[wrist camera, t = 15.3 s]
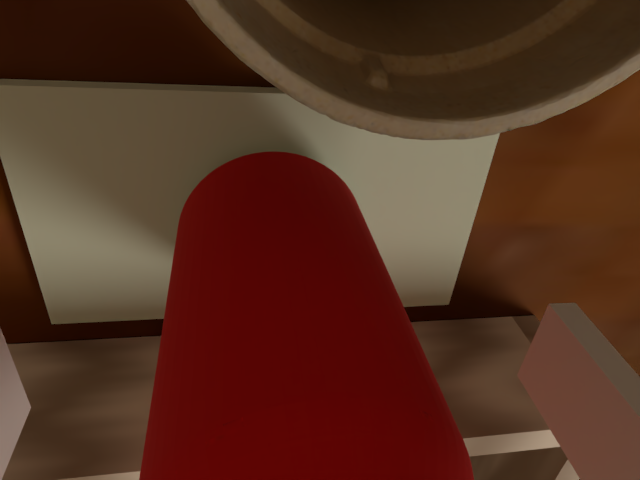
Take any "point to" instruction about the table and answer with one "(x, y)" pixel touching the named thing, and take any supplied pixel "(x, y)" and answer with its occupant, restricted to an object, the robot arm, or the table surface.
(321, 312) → the beverage can
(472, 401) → the frame
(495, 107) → the flower pot
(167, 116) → the mat
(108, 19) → the table surface
